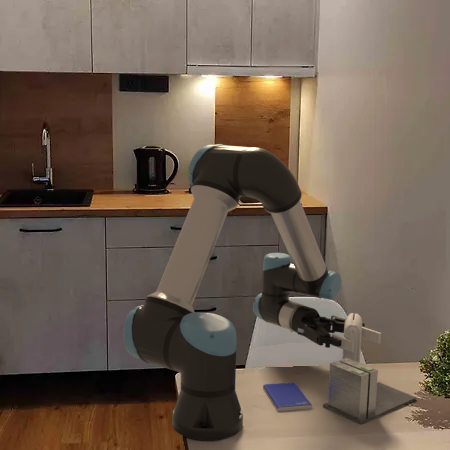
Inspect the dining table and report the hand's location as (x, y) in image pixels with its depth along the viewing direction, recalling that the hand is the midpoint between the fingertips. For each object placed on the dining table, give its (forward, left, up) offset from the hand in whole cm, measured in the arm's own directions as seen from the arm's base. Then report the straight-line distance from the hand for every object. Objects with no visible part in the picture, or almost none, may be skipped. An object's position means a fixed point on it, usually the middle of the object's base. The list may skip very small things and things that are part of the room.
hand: (366, 342), depth 174 cm
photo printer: (0, +4, -7) cm, 8 cm away
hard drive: (-20, +6, -12) cm, 24 cm away
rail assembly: (-7, -8, -11) cm, 15 cm away
